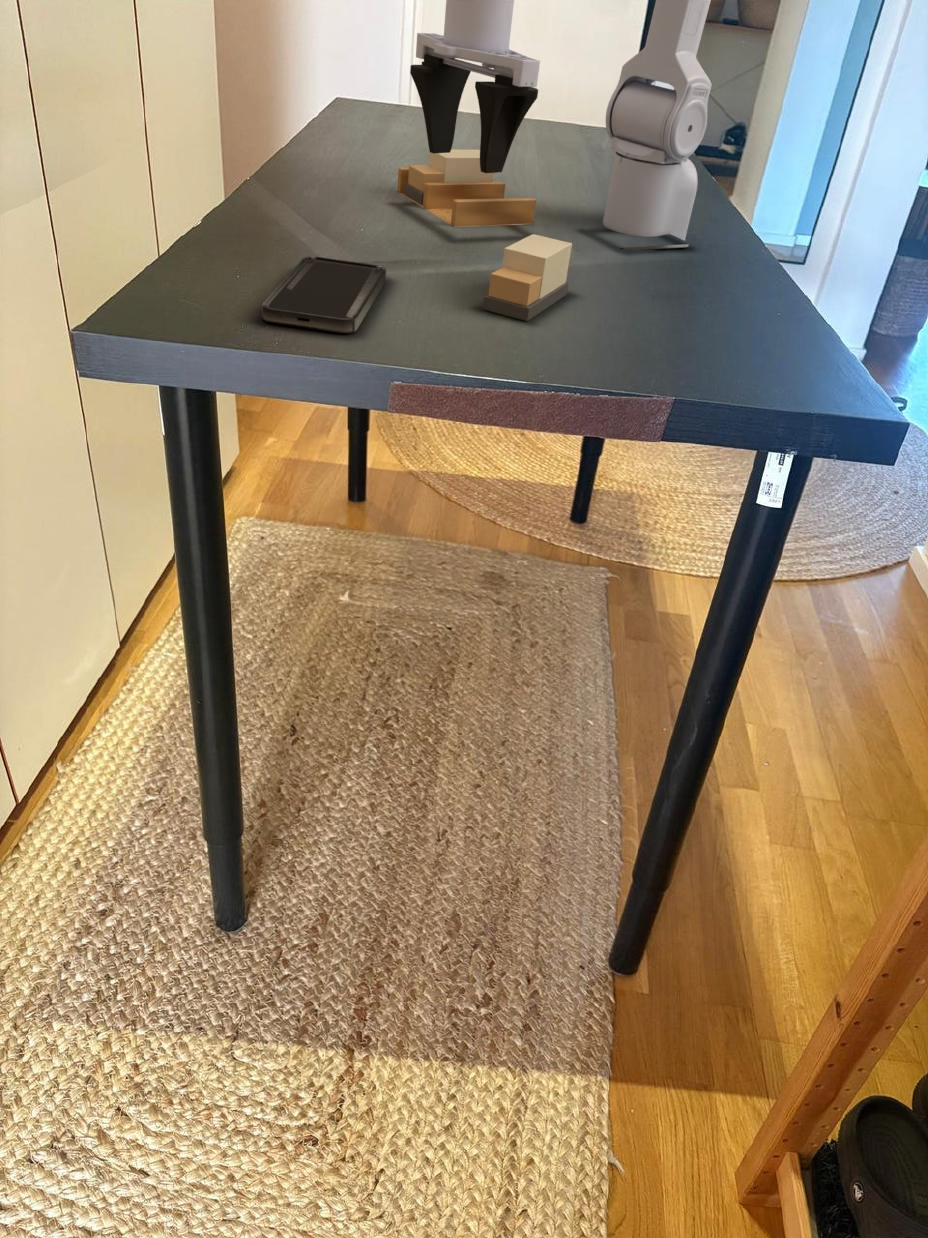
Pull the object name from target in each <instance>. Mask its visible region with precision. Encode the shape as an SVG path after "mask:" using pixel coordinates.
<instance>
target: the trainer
mask: <svg viewBox="0 0 928 1238" xmlns="http://www.w3.org/2000/svg"><path fill="white" fill-rule="evenodd" d="M572 246H573V243H572V242H568V241H563V240H560V239H555V238H551V237H548V236H542V235H538V234H536V233H535V234H534V233H532V234H530V235H528V236H526V237H524V238H522V239H520V240H518V241H516V242H514V243H512V244H510V245H508V246H506V247H504V251H503V252H504V253H503V259H502V266H501V268H498V269H497V270H496V271H493V272H491V273H490V280H489V287H488V288H489V289H488V294H486V295H484V296H483V306H482V310H484V311H488V312H492V313H495V314H498V315H502V316H506V317H510V318H513V319H517V320H519V321H524V322H528V321H530V320H531V319H533V318H534V317H536V316H538V315H539V314H541V313H542V312H543V311H545V310H546V309H548V308H549V307H551V306H552V305H554V304H555V303H558V301H560V300H561V299H563V298H564V297H566V296H567V295H568V292H569V291H568V290H569V285H570V283H569V282H568V281H567V277H568V270H569V264H570V258H571V254H572V249H573V247H572Z"/></svg>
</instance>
